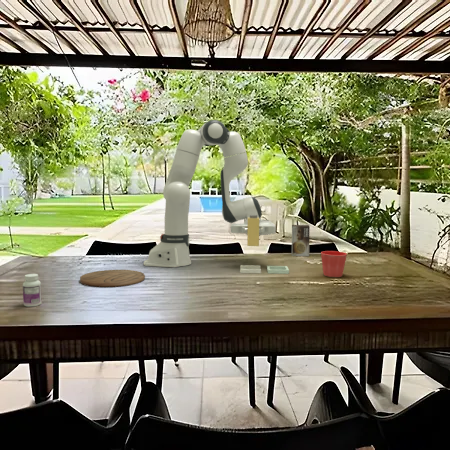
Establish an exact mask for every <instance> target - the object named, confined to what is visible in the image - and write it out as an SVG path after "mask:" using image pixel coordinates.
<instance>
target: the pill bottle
mask: <svg viewBox="0 0 450 450" xmlns="http://www.w3.org/2000/svg"><path fill="white" fill-rule="evenodd" d="M22 299H23V301H22V302H23V306H24V307H29V308H30V307H37V306H40V305H42V303H43V301H42V283H41V281H40V280H39V274H38V273H28V274H25V275H24V281H23V283H22Z"/></svg>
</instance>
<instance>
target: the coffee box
mask: <svg viewBox="0 0 450 450" xmlns="http://www.w3.org/2000/svg"><path fill="white" fill-rule="evenodd" d="M310 231H311V229H310V225H309V224H292V225H291V256H292V257H310Z"/></svg>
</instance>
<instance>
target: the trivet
mask: <svg viewBox="0 0 450 450" xmlns="http://www.w3.org/2000/svg"><path fill="white" fill-rule="evenodd" d="M79 277H80V279H79V280H80V281H79V283H80V284H81V285H84V286H86V287H91V288H121V287H129V286H134V285H138V284H140V283H142V282H144V281H145V279H146V275H145V273H143V272H142V271H138V270H132V269H105V270H98V271H91V272H87V273H84V274H82V275H81V276H79Z"/></svg>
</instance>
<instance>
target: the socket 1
mask: <svg viewBox="0 0 450 450" xmlns="http://www.w3.org/2000/svg"><path fill="white" fill-rule="evenodd" d="M239 274H262V269H261V265H252V264H250V265H248V264H247V265H246V264H244V265H242V264H241V265H240V269H239Z"/></svg>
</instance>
